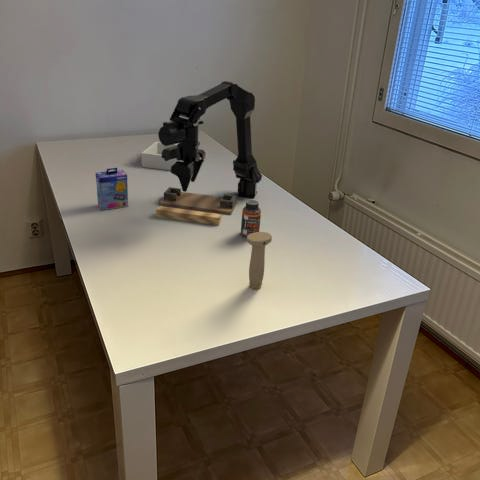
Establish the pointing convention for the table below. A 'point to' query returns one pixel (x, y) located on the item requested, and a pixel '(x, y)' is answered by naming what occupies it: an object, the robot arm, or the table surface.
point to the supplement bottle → (250, 218)
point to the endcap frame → (199, 201)
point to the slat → (188, 215)
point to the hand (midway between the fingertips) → (188, 186)
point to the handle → (257, 257)
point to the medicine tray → (157, 157)
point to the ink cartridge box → (112, 189)
